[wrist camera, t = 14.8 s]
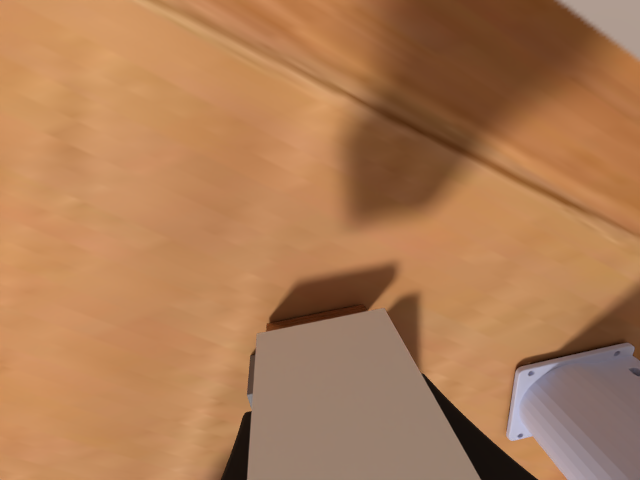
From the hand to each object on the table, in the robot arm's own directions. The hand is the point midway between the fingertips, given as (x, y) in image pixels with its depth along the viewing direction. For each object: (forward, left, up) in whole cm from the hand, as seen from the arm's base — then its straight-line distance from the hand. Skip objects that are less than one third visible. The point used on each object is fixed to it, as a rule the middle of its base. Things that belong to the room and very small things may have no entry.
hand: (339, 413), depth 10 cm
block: (0, 0, -2) cm, 2 cm away
